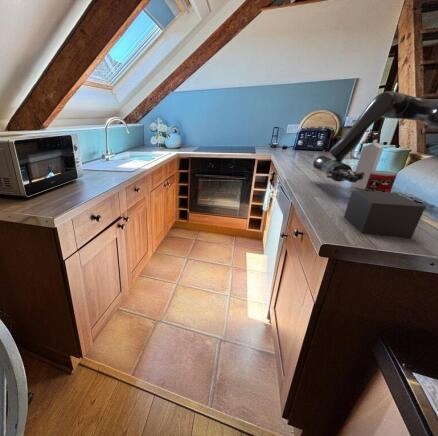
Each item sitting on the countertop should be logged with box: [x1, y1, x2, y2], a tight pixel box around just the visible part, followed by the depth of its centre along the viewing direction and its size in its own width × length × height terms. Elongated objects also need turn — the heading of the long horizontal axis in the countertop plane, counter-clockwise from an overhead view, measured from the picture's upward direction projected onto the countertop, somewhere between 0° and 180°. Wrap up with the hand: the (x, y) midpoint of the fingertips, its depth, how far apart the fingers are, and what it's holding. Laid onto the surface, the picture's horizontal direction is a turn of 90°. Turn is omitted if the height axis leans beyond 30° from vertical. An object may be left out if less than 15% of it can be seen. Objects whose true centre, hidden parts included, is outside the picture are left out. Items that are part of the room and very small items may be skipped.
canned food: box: [364, 170, 398, 192], centre depth 100 cm, size 8×8×11 cm
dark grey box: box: [343, 189, 426, 239], centre depth 74 cm, size 14×12×10 cm
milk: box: [350, 139, 385, 190], centre depth 113 cm, size 6×6×22 cm
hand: (354, 179), depth 91 cm, fingers closed
